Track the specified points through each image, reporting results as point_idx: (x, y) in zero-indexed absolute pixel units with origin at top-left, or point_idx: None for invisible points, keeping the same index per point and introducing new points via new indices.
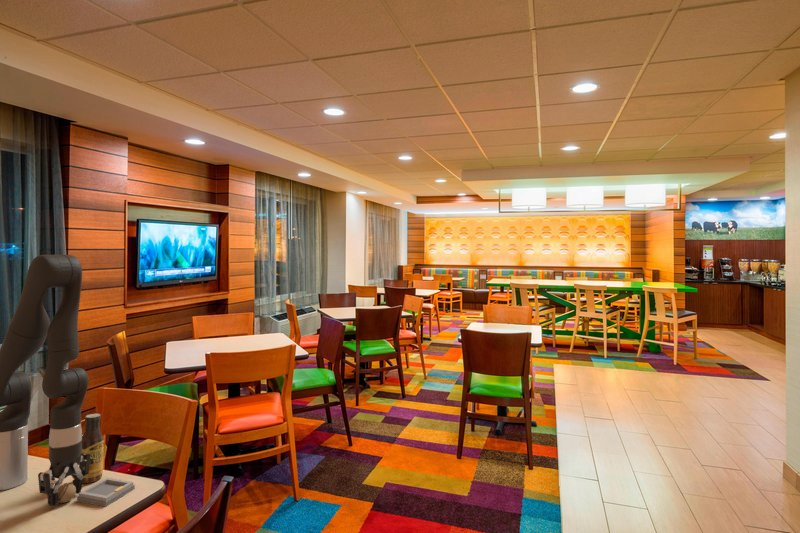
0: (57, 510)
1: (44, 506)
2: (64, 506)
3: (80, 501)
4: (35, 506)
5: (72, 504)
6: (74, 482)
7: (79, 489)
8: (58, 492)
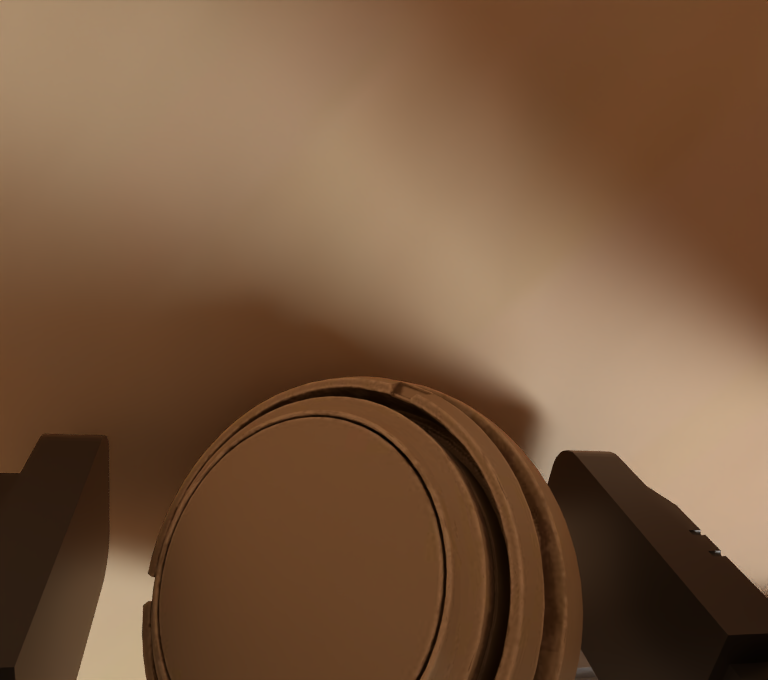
0: None
1: (81, 261)
2: None
3: None
4: (9, 51)
5: None
6: (675, 637)
7: None
8: (211, 630)
